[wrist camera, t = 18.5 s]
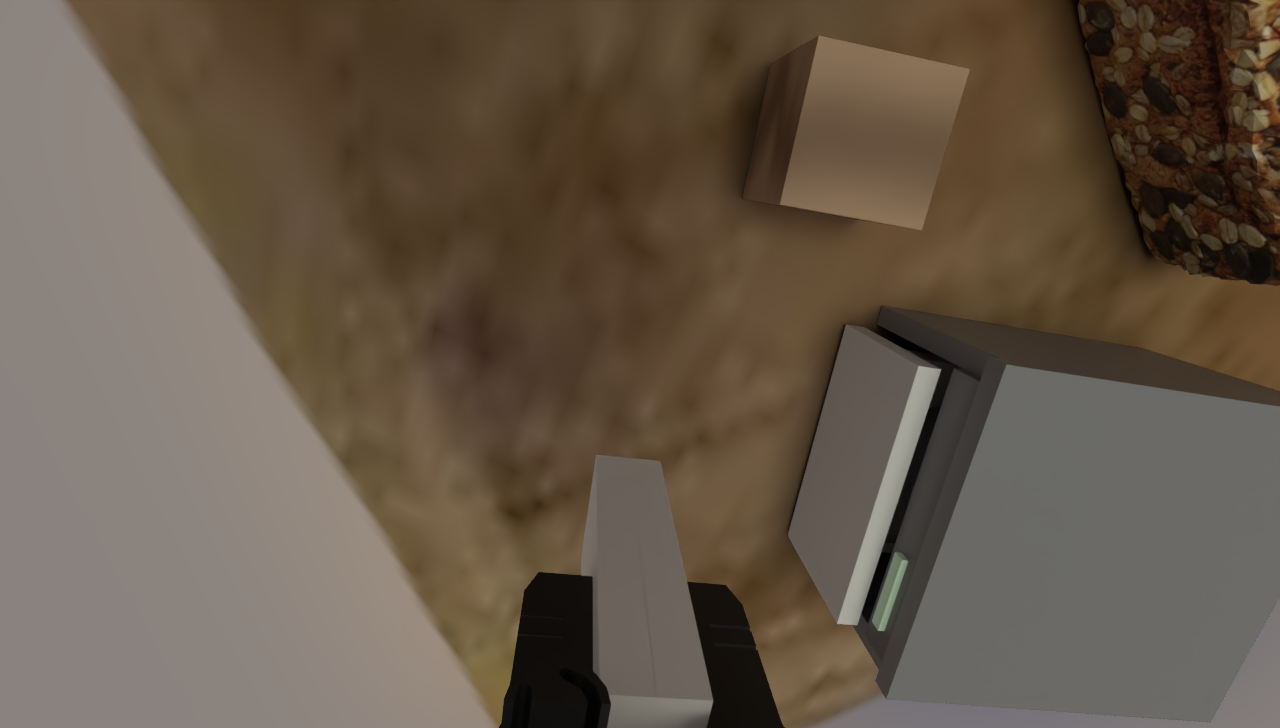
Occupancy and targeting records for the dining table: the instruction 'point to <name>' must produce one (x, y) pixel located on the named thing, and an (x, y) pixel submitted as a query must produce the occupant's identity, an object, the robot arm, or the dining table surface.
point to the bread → (1195, 126)
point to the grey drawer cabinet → (1079, 529)
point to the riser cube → (854, 132)
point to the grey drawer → (864, 463)
